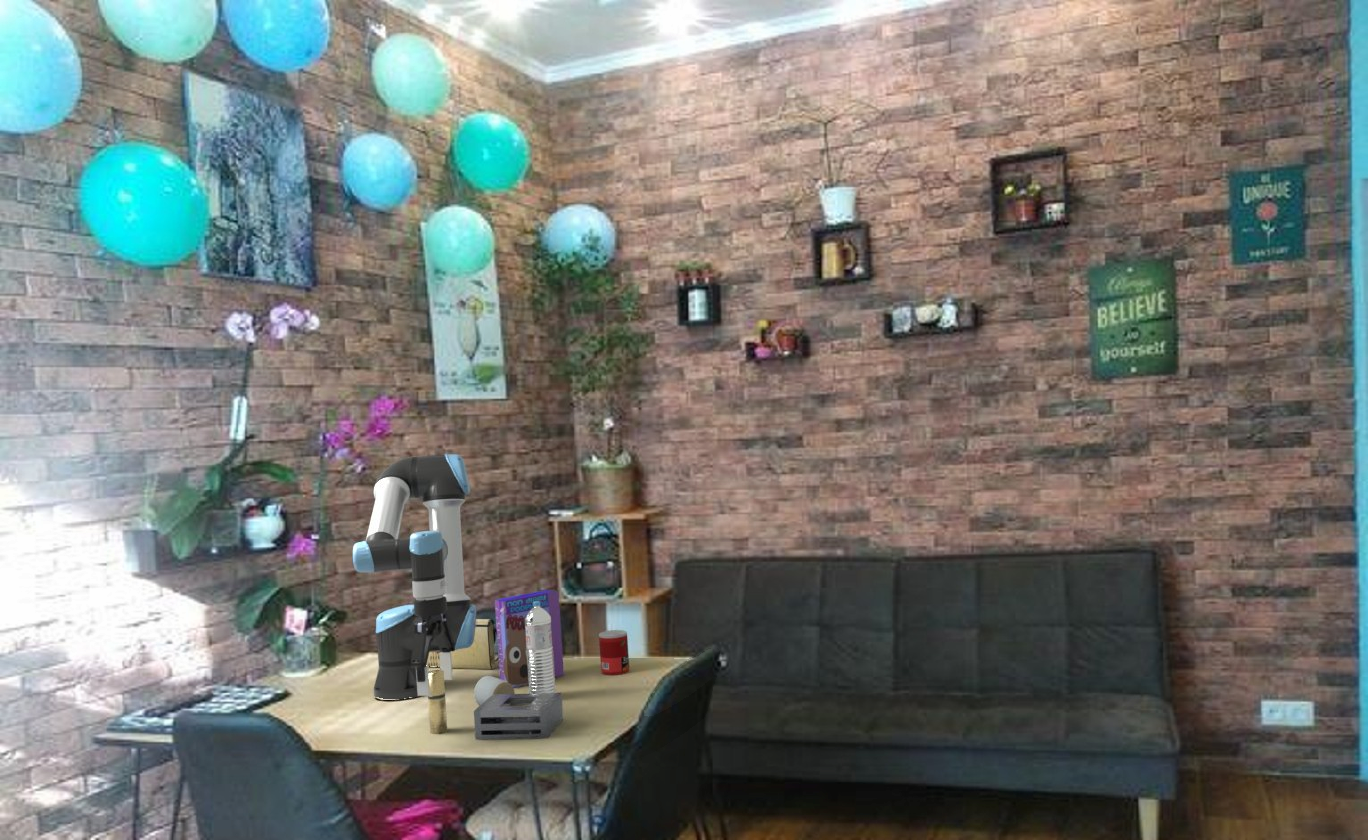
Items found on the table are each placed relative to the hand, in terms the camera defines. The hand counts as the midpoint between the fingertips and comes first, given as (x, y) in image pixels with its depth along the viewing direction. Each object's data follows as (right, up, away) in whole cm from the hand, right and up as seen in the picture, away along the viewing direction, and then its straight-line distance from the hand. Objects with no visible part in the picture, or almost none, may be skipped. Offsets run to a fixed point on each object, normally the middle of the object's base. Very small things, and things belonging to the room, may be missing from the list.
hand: (435, 687), depth 228 cm
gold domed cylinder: (+1, -10, 0) cm, 10 cm away
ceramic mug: (+12, -10, +18) cm, 23 cm away
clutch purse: (-9, -11, +63) cm, 64 cm away
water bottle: (+22, -9, +22) cm, 33 cm away
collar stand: (+20, -9, -3) cm, 23 cm away
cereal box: (+17, -10, +40) cm, 45 cm away
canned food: (+39, -8, +44) cm, 60 cm away
